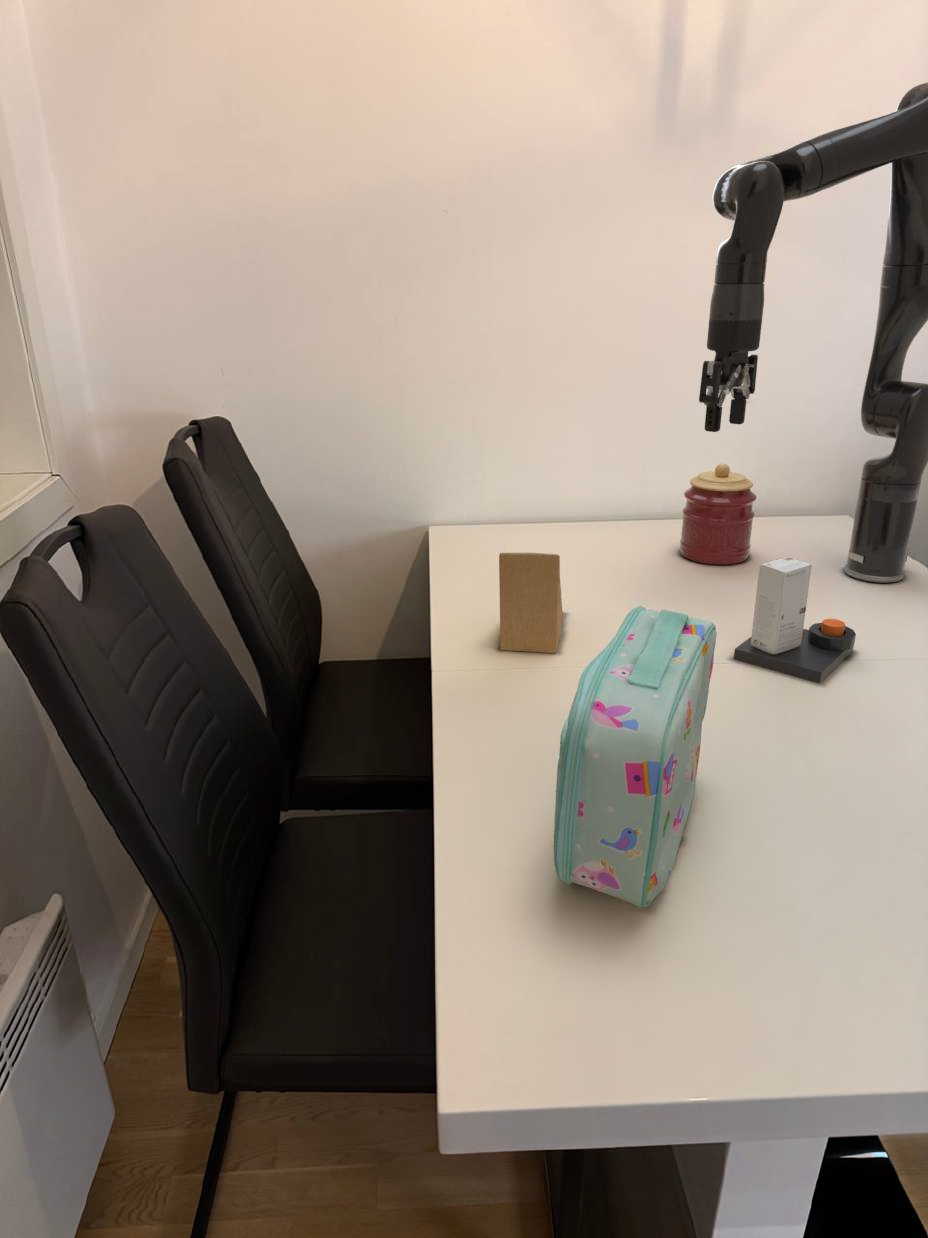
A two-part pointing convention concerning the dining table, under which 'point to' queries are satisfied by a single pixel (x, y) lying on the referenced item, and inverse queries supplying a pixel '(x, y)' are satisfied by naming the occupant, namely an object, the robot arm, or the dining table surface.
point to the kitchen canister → (718, 517)
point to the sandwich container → (530, 602)
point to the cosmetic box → (780, 605)
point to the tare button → (833, 627)
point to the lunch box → (633, 755)
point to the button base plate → (803, 654)
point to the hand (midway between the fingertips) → (724, 427)
